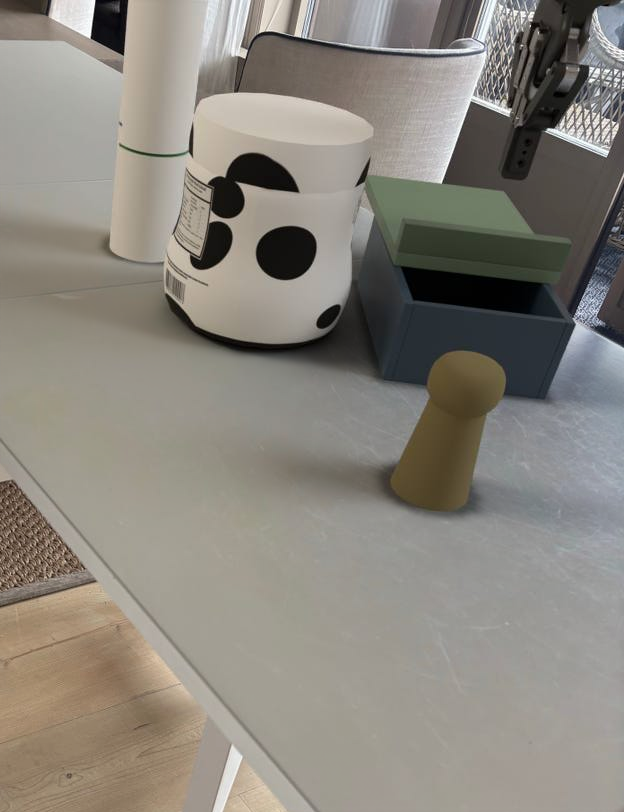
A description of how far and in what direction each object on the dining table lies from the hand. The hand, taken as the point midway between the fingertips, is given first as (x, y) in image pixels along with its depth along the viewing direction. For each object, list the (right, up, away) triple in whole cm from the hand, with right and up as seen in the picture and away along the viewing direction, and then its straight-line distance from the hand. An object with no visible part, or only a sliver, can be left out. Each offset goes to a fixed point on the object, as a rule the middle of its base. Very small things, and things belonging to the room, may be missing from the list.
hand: (510, 176), depth 81 cm
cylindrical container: (-31, +2, +23) cm, 38 cm away
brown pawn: (-9, -28, -7) cm, 30 cm away
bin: (-2, -9, +14) cm, 17 cm away
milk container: (-20, -8, +13) cm, 25 cm away
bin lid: (0, +2, +15) cm, 15 cm away
